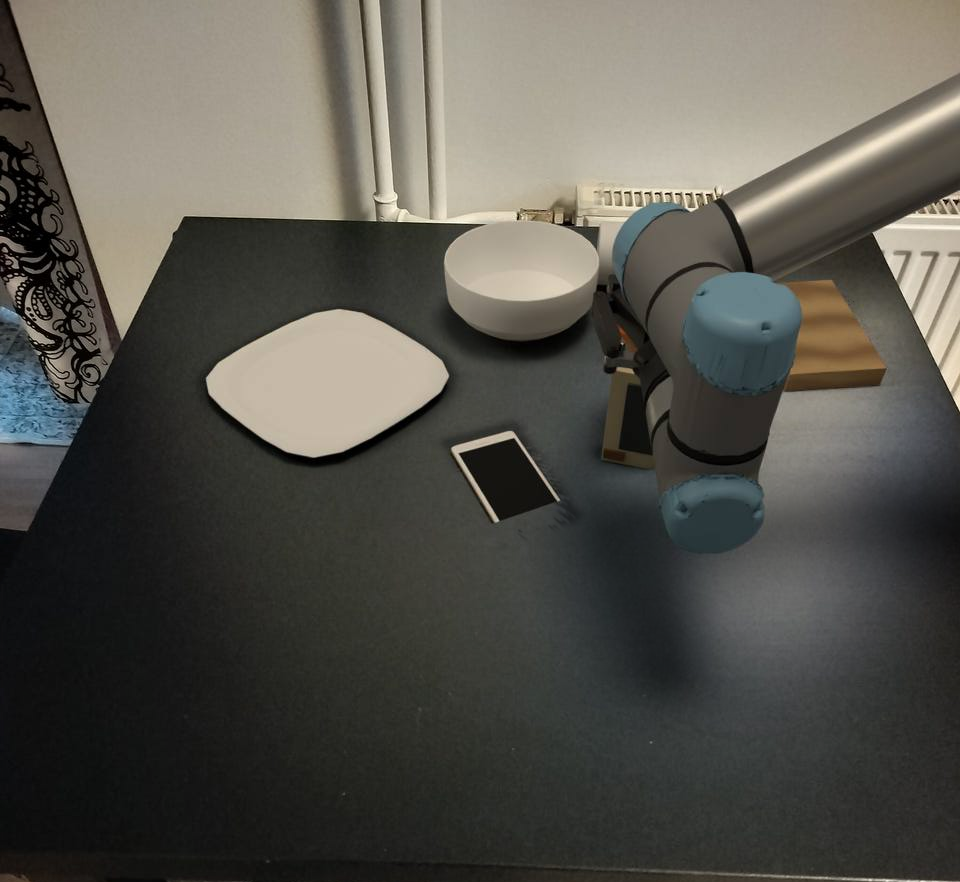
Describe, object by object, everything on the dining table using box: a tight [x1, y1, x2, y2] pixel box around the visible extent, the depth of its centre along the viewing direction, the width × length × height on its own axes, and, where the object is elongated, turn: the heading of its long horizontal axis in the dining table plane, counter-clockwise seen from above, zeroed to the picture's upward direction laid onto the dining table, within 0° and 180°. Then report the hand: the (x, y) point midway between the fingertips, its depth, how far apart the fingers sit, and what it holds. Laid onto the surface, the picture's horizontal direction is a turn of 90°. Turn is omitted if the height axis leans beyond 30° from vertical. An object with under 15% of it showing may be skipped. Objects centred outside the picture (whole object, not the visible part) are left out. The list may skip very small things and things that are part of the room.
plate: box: [205, 308, 450, 460], centre depth 109 cm, size 25×25×2 cm
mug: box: [596, 220, 625, 286], centre depth 122 cm, size 12×10×8 cm
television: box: [600, 339, 655, 470], centre depth 97 cm, size 16×8×12 cm, turn 73°
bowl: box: [443, 219, 599, 342], centre depth 115 cm, size 20×20×8 cm
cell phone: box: [450, 430, 561, 524], centre depth 98 cm, size 8×16×1 cm, turn 22°
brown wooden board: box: [774, 279, 888, 392], centre depth 114 cm, size 20×12×2 cm, turn 5°
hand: (658, 262), depth 90 cm, fingers closed on hat, 7 cm apart
